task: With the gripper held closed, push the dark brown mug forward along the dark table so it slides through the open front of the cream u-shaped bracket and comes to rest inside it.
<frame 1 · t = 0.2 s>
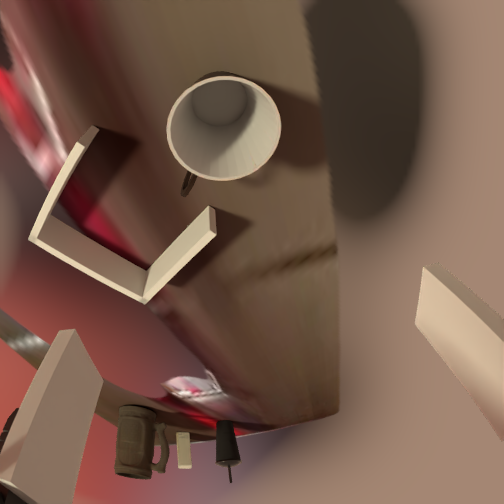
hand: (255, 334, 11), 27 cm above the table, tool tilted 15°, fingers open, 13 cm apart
cream u-shaped bracket: (121, 211, 37), on the table
dark brown mug: (207, 108, 31), on the table
beer stein: (142, 409, 77), on the table
drinking cup: (224, 422, 88), on the table
skincare box: (183, 434, 94), on the table
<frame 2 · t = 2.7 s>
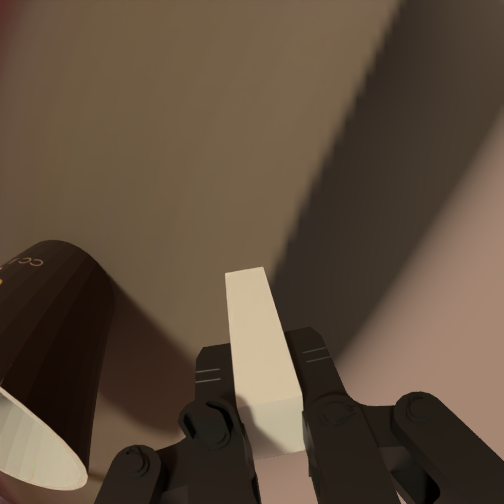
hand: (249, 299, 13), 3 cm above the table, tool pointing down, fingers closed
dark brown mug: (43, 289, 16), on the table
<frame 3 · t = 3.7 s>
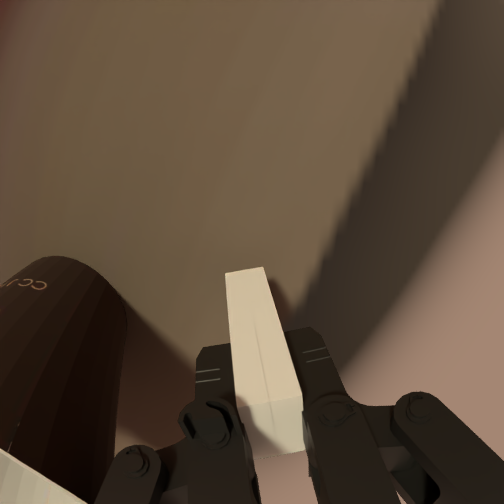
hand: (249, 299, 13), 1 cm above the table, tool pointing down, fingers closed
dark brown mug: (46, 309, 14), on the table
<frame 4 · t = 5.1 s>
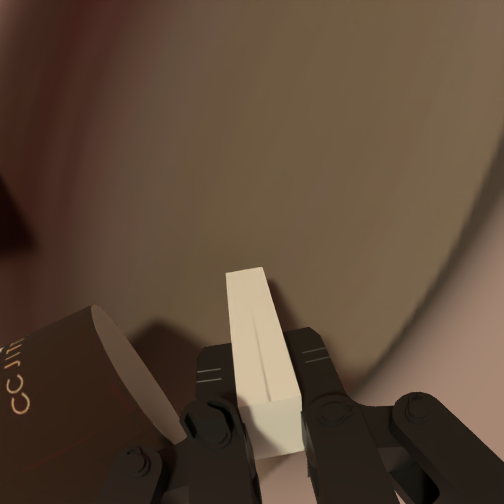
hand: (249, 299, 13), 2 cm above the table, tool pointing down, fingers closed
dark brown mug: (131, 347, 11), point 3 cm above the table, touching gripper
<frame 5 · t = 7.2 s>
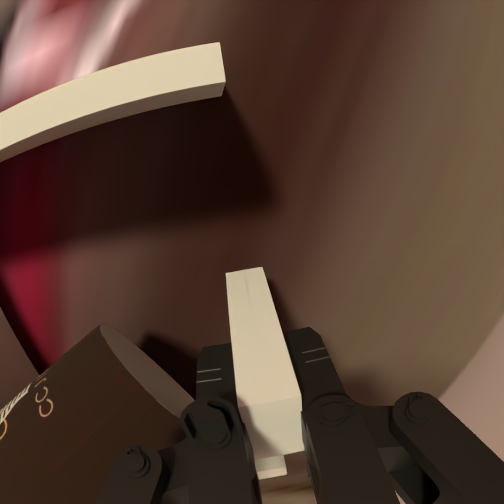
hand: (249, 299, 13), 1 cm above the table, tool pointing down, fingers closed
cream u-shaped bracket: (97, 307, 14), on the table
dark brown mug: (150, 359, 12), point 3 cm above the table, touching cream u-shaped bracket, gripper
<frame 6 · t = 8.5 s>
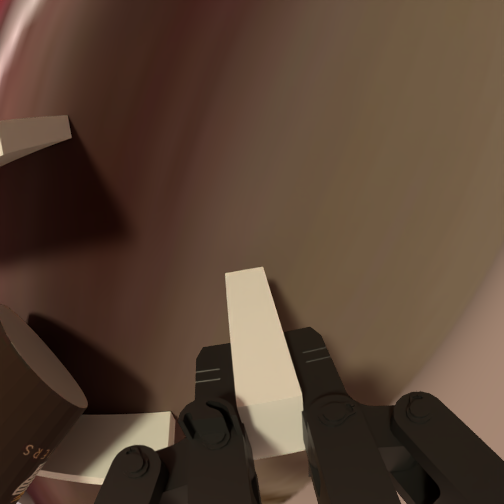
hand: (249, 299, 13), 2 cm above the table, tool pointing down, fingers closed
cream u-shaped bracket: (11, 321, 14), on the table
dark brown mug: (43, 344, 13), point 1 cm above the table, touching cream u-shaped bracket
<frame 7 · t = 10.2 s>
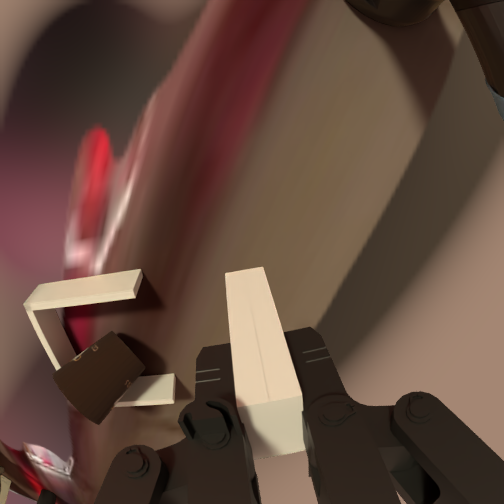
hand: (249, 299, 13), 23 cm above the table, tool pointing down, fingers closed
cream u-shaped bracket: (107, 335, 39), on the table
dark brown mug: (126, 345, 39), point 1 cm above the table, touching cream u-shaped bracket
drinking cup: (49, 492, 59), on the table
skincare box: (4, 478, 57), on the table
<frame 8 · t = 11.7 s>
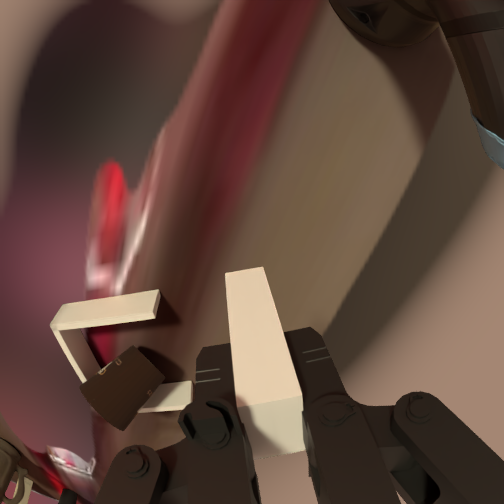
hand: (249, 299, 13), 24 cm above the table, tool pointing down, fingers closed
cream u-shaped bracket: (129, 348, 43), on the table
dark brown mug: (146, 357, 43), point 1 cm above the table, touching cream u-shaped bracket
beer stein: (10, 447, 55), on the table
drinking cup: (70, 491, 66), on the table
skincare box: (26, 479, 64), on the table
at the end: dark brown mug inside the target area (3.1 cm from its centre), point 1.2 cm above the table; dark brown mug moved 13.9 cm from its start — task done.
